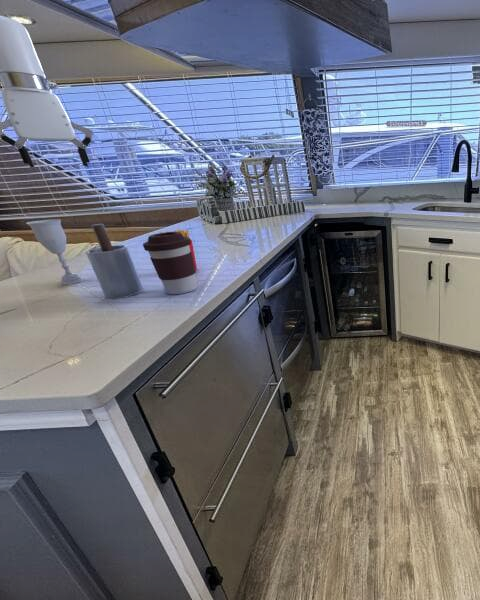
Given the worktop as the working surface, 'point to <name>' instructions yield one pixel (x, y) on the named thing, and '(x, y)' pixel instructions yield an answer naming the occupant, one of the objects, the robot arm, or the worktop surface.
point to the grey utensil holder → (115, 271)
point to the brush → (102, 237)
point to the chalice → (54, 244)
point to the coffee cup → (172, 261)
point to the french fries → (189, 245)
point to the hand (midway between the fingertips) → (60, 166)
